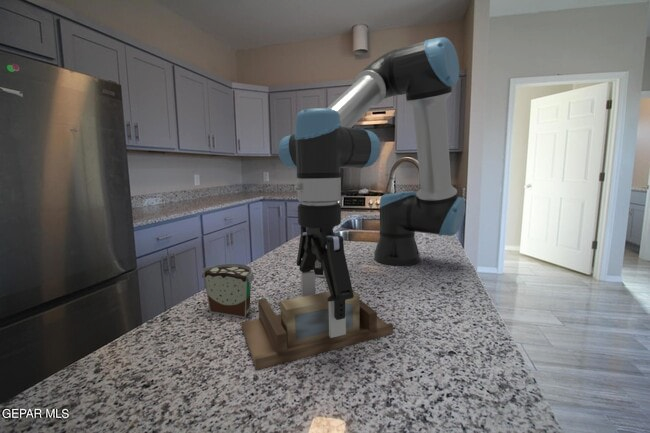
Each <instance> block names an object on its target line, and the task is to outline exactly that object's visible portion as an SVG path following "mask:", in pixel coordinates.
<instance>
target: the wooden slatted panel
mask: <svg viewBox="0 0 650 433" xmlns="http://www.w3.org/2000/svg"><path fill="white" fill-rule="evenodd" d="M257 303H258V304H257V305H258V318H257V319H256V318H255V319H252V320H247V321H242V322H241V325H240V326H241V330H242V332H243V334H244V335H243V336H244V338H245V341H246V344H247V347H248V351H249V353H250V356H251V359H252V361H253V365H254V367H255V371H258V370H260V369H266V368H269V367H272V366H276V365H280V364H283V363H287V362H291V361H295V360H298V359H302V358H307V357H309V356H313V355H317V354H318V355H319V354H320V353H324V352H328V351H332V350H336V349H340V348H343V347H348V346H352V345H355V344H359V343H362V342H366V341H369V340H373V339H377V338H381V337H385V336H389V335H392V334H394V324H393V323H391V322H389V323H387V322H385V321H384V320H382V318H380V317H379V316H378V312H377V311H375V309H373V308H371V307H370V306H369V305H368V304H367V303H365V302H364V301H362V300H361V299H360V331H356V332H352V333H348V334H345V335H341V336H337V337H333V338H328V339H324V340H320V341H316V342H312V343H308V344H304V345H300V346H296V347H292V348H287V333H286V331H285V330H284V328H283V326H282V325H281V313H279V314H276V313H275V312H274V310H273V308H272V306H271V305H270V303H269V301H268V300H267V298H265V299H258V302H257Z"/></svg>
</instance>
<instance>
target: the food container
mask: <svg viewBox="0 0 650 433" xmlns="http://www.w3.org/2000/svg"><path fill="white" fill-rule="evenodd" d="M201 278H202V279H204V287H205V293H206V299H207V304H208V311H209V313H212V314H217V315H219V314H220V315H225V316H230V317H235V318H236V317H237V318H242V319H247V318H248V316H249V315H250V313H251V312H250V311H251V289H252V288H251V287H252V286H251V285H252V282H253V281H254V280H255V276H254V273H253V270H252V267H251V266H249V265H247V264H243V263H220V264H216V265H210V266H206V267H204V268H203V269H202V272H201Z"/></svg>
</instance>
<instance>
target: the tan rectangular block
mask: <svg viewBox="0 0 650 433" xmlns="http://www.w3.org/2000/svg"><path fill="white" fill-rule="evenodd" d="M353 295H354V297H353V298H352V299H347V300H346V334H348V333H352V332H356V331H360V300H361V299H360V294H359V293H357V292H356V291H354V290H353ZM329 296H331V295H330V291H327V292H322V293H321V292H320V293H315V295H310V296H304V297H302V296H299V297H294V298H290V299H284V300H280V301H279V305H280V306H279V308H280V314H281V325H282V326H283V328H284V330H285V331H286V333H287V348H292V347H296V346H300V345H304V344H308V343H312V342H316V341H320V340H324V339H328V338H331V337H330V336H329V302H328V300H327V299H328V298H329Z"/></svg>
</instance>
